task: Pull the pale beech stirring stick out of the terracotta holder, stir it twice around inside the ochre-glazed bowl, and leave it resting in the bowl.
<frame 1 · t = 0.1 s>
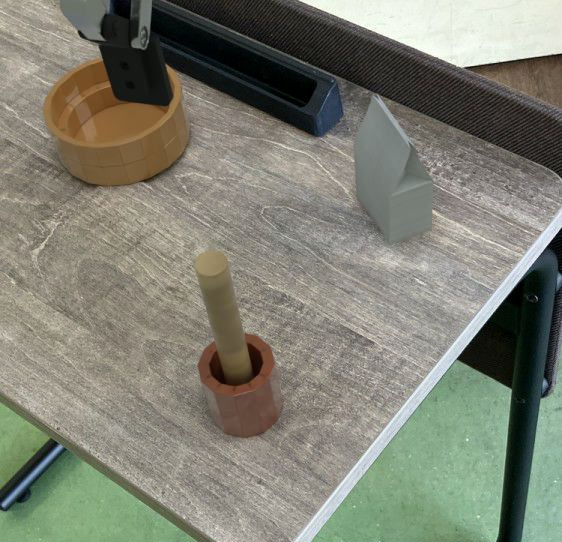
hand: (176, 41, 53), 26 cm above the table, tool pointing down, fingers open, 9 cm apart
holder: (247, 409, 70), on the table
bowl: (125, 141, 88), on the table
grey pointed block: (393, 215, 79), on the table
stick: (246, 405, 70), resting on holder
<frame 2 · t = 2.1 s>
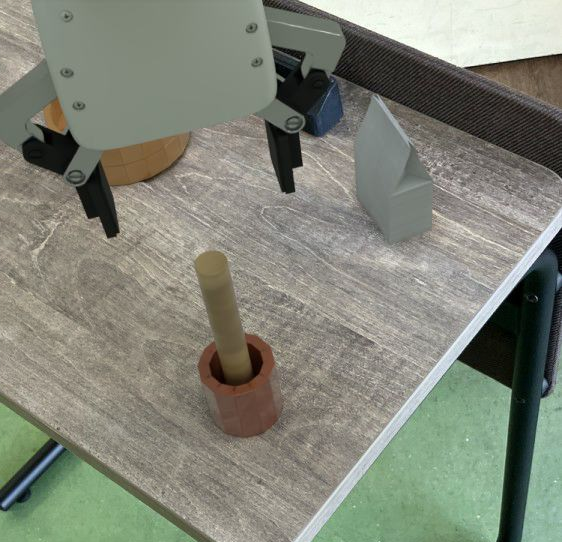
hand: (197, 197, 52), 22 cm above the table, tool pointing down, fingers open, 9 cm apart
nothing on the table moved.
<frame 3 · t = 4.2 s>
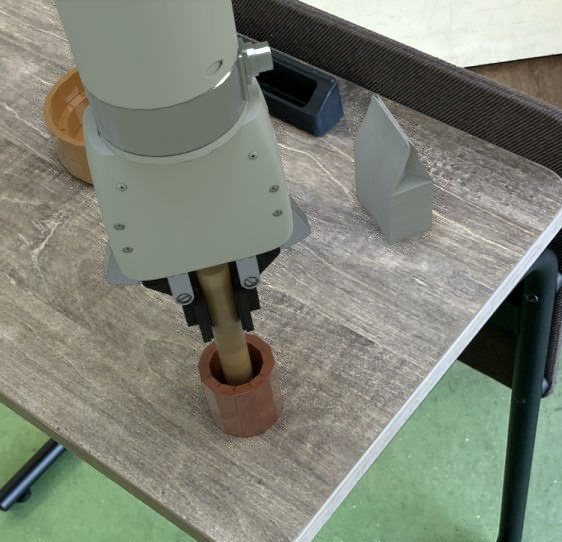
hand: (224, 318, 61), 11 cm above the table, tool pointing down, fingers closed on stick, 2 cm apart
stick: (246, 405, 70), point 1 cm above the table, touching gripper, holder
everything else where it was.
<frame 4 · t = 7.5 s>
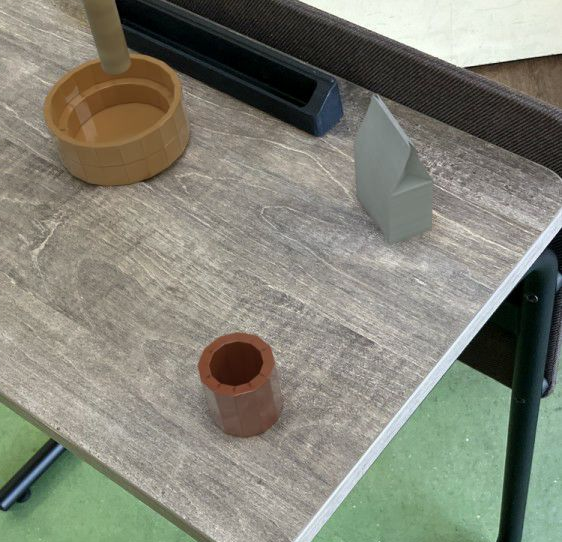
stick: (116, 65, 65), point 18 cm above the table, touching gripper
everything else where it was.
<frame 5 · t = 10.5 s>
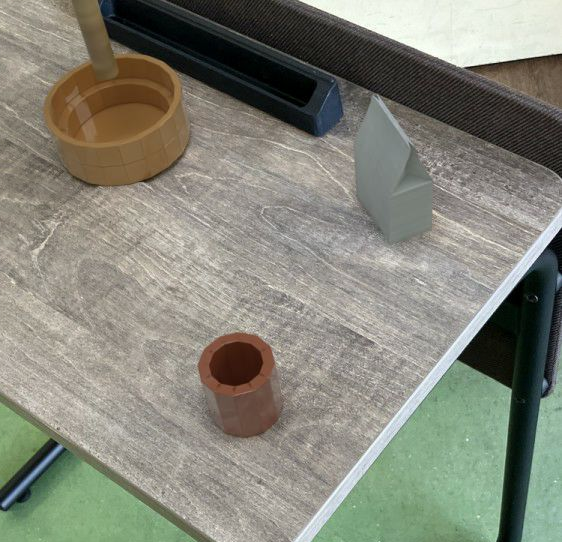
stick: (107, 73, 81), point 8 cm above the table, touching gripper
everything else where it was.
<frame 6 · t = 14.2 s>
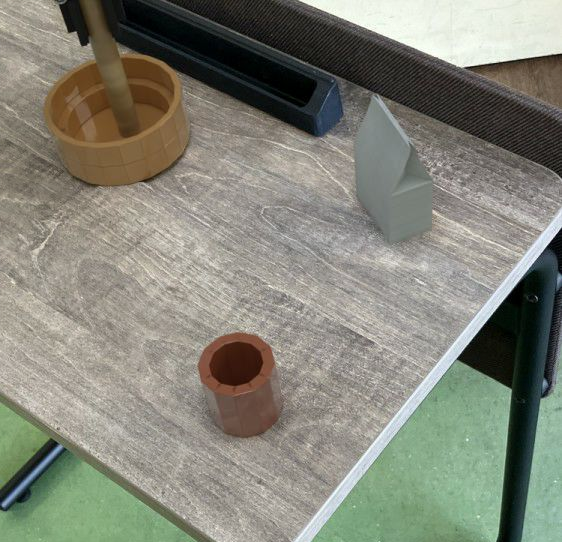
hand: (99, 30, 76), 13 cm above the table, tool pointing down, fingers closed on stick, 2 cm apart
stick: (130, 131, 85), point 2 cm above the table, touching gripper
everything else where it was.
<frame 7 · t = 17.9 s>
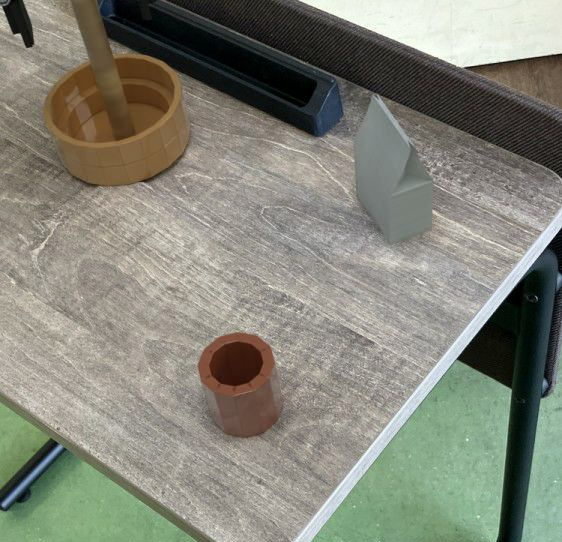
hand: (87, 23, 77), 13 cm above the table, tool pointing down, fingers open, 9 cm apart
stick: (125, 137, 87), resting on bowl
everything else where it was.
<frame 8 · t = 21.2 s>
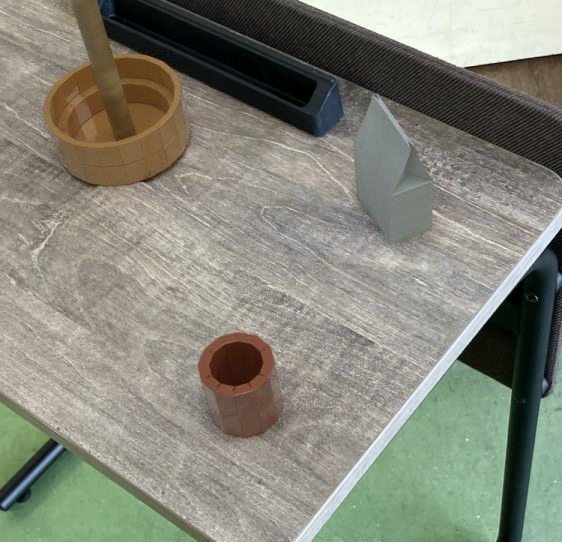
nothing on the table moved.
at the end: stick inside the target area in the bowl (0.1 cm from its centre), point 0.5 cm above the bowl's base; the gripper is holding nothing; stick moved 32.0 cm from its start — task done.
